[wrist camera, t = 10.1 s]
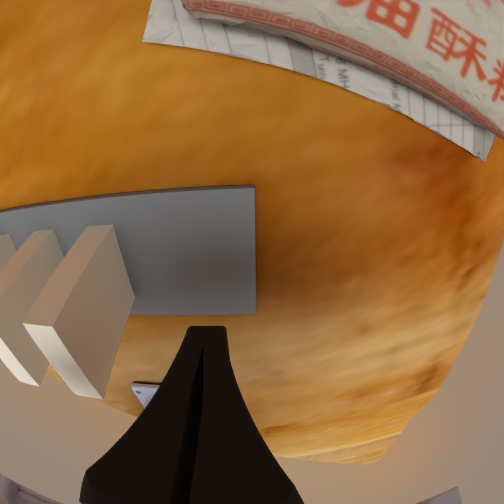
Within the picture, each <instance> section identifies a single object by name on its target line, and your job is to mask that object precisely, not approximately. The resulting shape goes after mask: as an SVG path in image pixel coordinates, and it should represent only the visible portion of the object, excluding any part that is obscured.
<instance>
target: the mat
mask: <svg viewBox="0 0 504 504" xmlns="http://www.w3.org/2000/svg"><path fill="white" fill-rule="evenodd" d="M112 224H113V226H114V230H115V234H116V237H117V241H118V245H119V248H120V251H121V255H122V258H123V262H124V265H125V268H126V271H127V274H128V277H129V281H130V284H131V287H132V290H133V293H134V296H135V300H134V302H133V305H132V308H131V311H130V314H129V315H176V316H189V315H246V314H256V253H255V187H254V185H234V186H211V187H193V188H177V189H163V190H151V191H139V192H128V193H118V194H109V195H100V196H91V197H83V198H75V199H68V200H60V201H53V202H47V203H40V204H34V205H28V206H22V207H16V208H10V209H5V210H0V235H1V234H10V237H11V239H12V242H13V244H14V247H15V249H16V251H17V250H18V249H19V248H20V246H21V245H22V244H23V243H24V242H25V241H26V240H27V238H28V237H29V236H30V235H31V234H32V233H33V232H34V231H40V230H51V229H54V232H55V235H56V237H57V240H58V243H59V246H60V248H61V251H62V254H63V256H64V257H65V256H66V254H67V253H68V251H69V250H70V249H71V247H72V246H73V245H74V243H75V242H76V241H77V239H78V238H79V237H80V235H81V234H82V233H83V231H84V230H85V229H86V227H87V226H99V225H112Z"/></svg>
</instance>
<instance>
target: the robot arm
mask: <svg viewBox="0 0 504 504" xmlns="http://www.w3.org/2000/svg"><path fill="white" fill-rule="evenodd" d="M131 388H132V390H133V392H134V393H135V395H136V396H137V398H138V399H139V401H140V402H141V404H142V405H143V407H144V410H143V412H142V413H141V414H140V416H139V417H138V418H137V420H136V421H135V422H134V423H133V425H132V426H131V427H130V428H129V429H128V431H127V432H126V433H125V434H124V435H123V436H122V437H121V438H120V439H119V440H118V441H117V442H116V443H115V444H114V446H113V447H112V448H111V449H110V450H109V451H108V452H107V453H106V454H105V455H103V456H102V457H101V458H100V459H99V460H98V461H97V462H96V463H94V464H93V465H92V466H91V467H90V468H88V469H87V470H86V472H85V475H84V478H83V482H82V487H81V492H80V499H79V501H80V502H81V503H82V504H304V502H303V500H302V498H301V497H300V495H299V493H298V491H297V490H296V487H295V485H294V484H293V483H292V482H291V480H290V479H289V478H288V476H287V475H286V474H285V472H284V471H283V469H282V468H281V467H280V465H279V464H278V462H277V461H276V459H275V458H274V456H273V455H272V453H271V451H270V450H269V448H268V446H267V445H266V443H265V441H264V440H263V438H262V436H261V435H260V433H259V431H258V429H257V427H256V425H255V423H254V422H253V420H252V418H251V415H250V413H249V411H248V409H247V407H246V405H245V402H244V400H243V398H242V395H241V392H240V390H239V387H238V385H237V382H236V379H235V376H234V372H233V369H232V366H231V362H230V356H229V348H228V340H227V331H226V328H225V327H224V326H190V327H189V328H188V330H187V332H186V335H185V337H184V340H183V342H182V344H181V347H180V349H179V351H178V353H177V355H176V357H175V359H174V361H173V363H172V365H171V367H170V369H169V370H168V372H167V374H166V376H165V378H164V379H163V381H162V383H161V384H160V385H150V384H138V383H134V384H132V387H131ZM0 504H62V503H60V502H57V501H55V500H52V499H50V498H47V497H45V496H43V495H41V494H38V493H37V492H35V491H33V490H30V489H28V488H26V487H24V486H22V485H20V484H18V483H16V482H14V481H12V480H11V479H8V478H7V477H5V476H3V475H1V474H0ZM416 504H462V502H461V498H460V493H459V489H458V487H454V488H452V489H450V490H448V491H446V492H443V493H441V494H439V495H437V496H434V497H432V498H429V499H427V500H424V501H422V502H419V503H416Z"/></svg>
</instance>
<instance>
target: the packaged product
mask: <svg viewBox="0 0 504 504" xmlns="http://www.w3.org/2000/svg"><path fill="white" fill-rule="evenodd" d="M141 42H150V43H159V44H167V45H175V46H182V47H188V48H194V49H199V50H204V51H209V52H214V53H219V54H224V55H228V56H232V57H237V58H242V59H247V60H252V61H257V62H261V63H266V64H270V65H274V66H277V67H281V68H285V69H289V70H292V71H296V72H299V73H302V74H306V75H309V76H312V77H315V78H318V79H321V80H324V81H327V82H330V83H333V84H336V85H339V86H341V87H343V88H345V89H347V90H350V91H352V92H354V93H356V94H359V95H361V96H363V97H365V98H367V99H370V100H372V101H375V102H377V103H379V104H383V105H384V106H386V107H388V108H390V109H393V110H395V111H398V112H400V113H402V114H405V115H407V116H409V117H411V118H412V119H413V120H415V121H416V122H418V123H420V124H421V125H423V126H425V127H427V128H429V129H430V130H432V131H434V132H436V133H437V134H439V135H441V136H443V137H445V138H446V139H448V140H450V141H452V142H454V143H456V144H457V145H459V146H461V147H463V148H465V149H466V150H468V151H469V152H470V153H472V154H473V155H474V156H476V157H477V158H478V159H480V160H481V161H484V162H485V161H486V158H487V155H488V153H489V150H490V148H491V146H492V143H493V141H494V138H495V136H498V137H500V138H501V139H503V140H504V0H152V3H151V7H150V10H149V14H148V22H147V26H146V29H145V32H144V36H143V39H142V41H141Z"/></svg>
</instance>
